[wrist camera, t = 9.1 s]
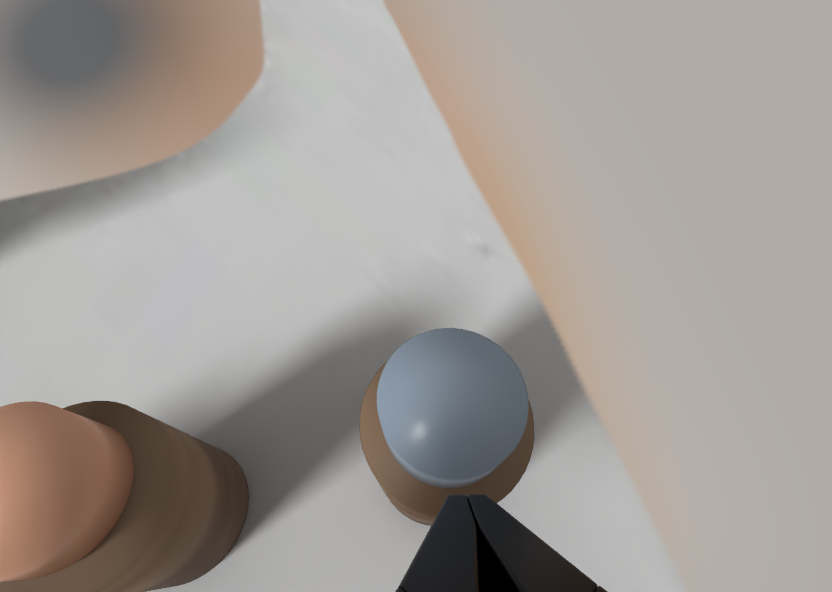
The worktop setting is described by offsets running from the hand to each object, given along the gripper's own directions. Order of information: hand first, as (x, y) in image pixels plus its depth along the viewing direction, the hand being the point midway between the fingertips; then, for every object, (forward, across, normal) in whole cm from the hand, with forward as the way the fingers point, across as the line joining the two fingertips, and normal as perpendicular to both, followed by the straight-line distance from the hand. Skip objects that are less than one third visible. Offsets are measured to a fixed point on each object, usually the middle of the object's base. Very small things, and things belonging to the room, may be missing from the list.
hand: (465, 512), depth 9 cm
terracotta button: (+4, -12, -2) cm, 13 cm away
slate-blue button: (+5, 0, -1) cm, 5 cm away
